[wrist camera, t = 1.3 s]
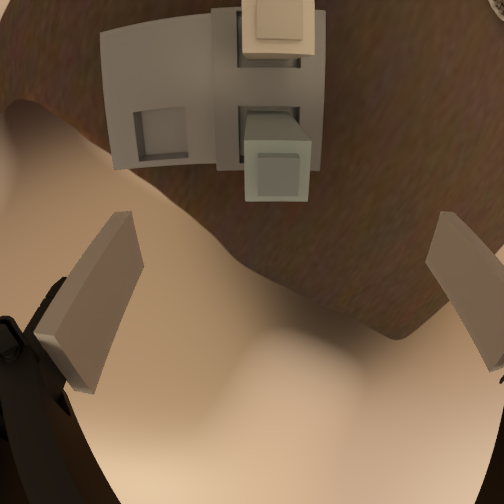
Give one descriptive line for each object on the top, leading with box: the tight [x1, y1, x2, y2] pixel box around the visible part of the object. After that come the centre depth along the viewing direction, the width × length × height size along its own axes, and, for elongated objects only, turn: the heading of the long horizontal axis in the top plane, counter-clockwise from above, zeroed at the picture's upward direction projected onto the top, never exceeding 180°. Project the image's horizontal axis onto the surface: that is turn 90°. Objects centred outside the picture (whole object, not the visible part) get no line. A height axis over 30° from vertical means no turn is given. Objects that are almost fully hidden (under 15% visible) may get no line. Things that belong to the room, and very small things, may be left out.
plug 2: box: [244, 111, 312, 202], centre depth 23 cm, size 4×4×14 cm
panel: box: [100, 7, 326, 171], centre depth 27 cm, size 16×22×6 cm
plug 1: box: [242, 0, 315, 60], centre depth 18 cm, size 4×4×14 cm
